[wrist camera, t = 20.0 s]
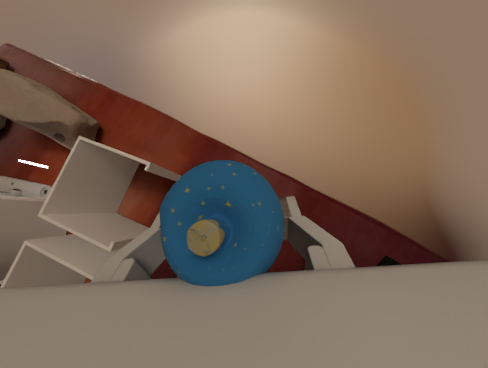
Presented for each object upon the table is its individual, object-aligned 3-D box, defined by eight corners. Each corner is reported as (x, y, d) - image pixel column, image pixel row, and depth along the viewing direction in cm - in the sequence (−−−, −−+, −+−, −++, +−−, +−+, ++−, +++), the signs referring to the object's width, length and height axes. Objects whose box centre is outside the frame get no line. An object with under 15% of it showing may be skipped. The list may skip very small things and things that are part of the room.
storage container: (139, 160, 33) (79, 135, 22) (189, 179, 31) (150, 162, 20) (78, 290, 30) (-24, 334, 19) (130, 318, 28) (49, 384, 18)
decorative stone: (116, 131, 34) (58, 99, 25) (93, 162, 34) (24, 142, 24) (52, 88, 38) (-20, 44, 28) (30, 115, 37) (-52, 80, 28)
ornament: (243, 183, 19) (198, 87, 4) (277, 216, 18) (360, 235, 4) (210, 216, 19) (41, 232, 4) (242, 251, 18) (178, 434, 3)
